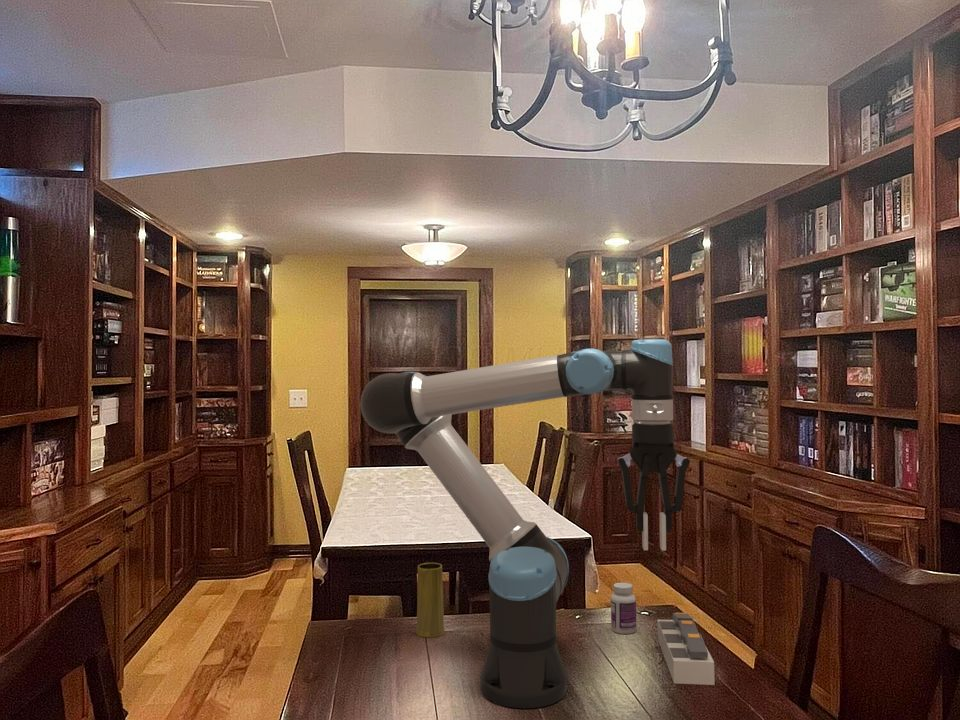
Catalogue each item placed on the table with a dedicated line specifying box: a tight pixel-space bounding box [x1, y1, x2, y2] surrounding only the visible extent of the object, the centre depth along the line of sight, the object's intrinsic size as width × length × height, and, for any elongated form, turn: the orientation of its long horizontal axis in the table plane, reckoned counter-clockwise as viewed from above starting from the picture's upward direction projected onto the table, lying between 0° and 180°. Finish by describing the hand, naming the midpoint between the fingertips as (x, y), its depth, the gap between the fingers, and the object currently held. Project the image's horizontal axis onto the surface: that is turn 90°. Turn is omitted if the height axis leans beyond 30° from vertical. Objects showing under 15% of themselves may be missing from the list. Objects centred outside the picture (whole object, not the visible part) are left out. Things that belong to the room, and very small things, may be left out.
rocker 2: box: [678, 620, 700, 643], centre depth 138 cm, size 3×6×1 cm, turn 174°
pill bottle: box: [610, 582, 637, 635], centre depth 154 cm, size 5×5×10 cm
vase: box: [415, 562, 446, 639], centre depth 153 cm, size 6×6×14 cm
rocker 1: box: [672, 612, 694, 624], centre depth 145 cm, size 3×6×1 cm, turn 174°
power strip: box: [656, 619, 715, 686], centre depth 138 cm, size 7×21×5 cm, turn 174°
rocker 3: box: [684, 633, 709, 658], centre depth 131 cm, size 3×6×1 cm, turn 174°
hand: (654, 548), depth 134 cm, fingers open, 3 cm apart
